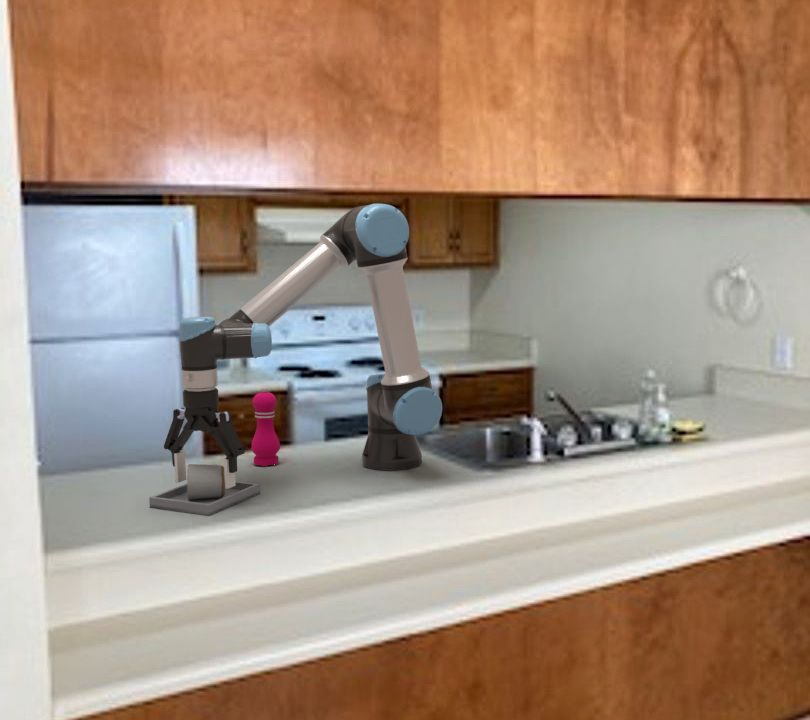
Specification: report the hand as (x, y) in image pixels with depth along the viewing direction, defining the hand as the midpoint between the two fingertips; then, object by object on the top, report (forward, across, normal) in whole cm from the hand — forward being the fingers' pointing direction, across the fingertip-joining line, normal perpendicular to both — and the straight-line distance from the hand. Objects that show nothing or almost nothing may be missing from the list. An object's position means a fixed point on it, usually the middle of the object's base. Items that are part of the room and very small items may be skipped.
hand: (205, 484), depth 201 cm
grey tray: (+4, 0, 0) cm, 4 cm away
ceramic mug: (+3, -1, +1) cm, 3 cm away
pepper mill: (+4, -7, +33) cm, 34 cm away
